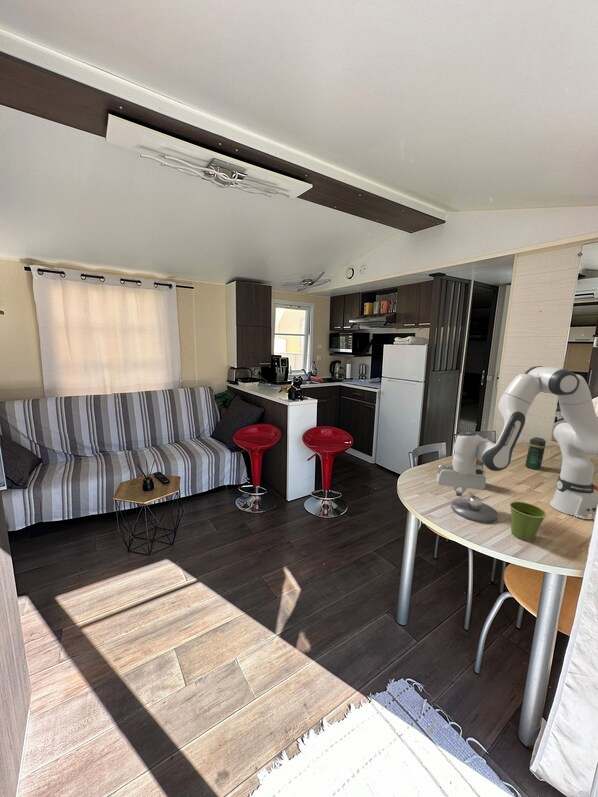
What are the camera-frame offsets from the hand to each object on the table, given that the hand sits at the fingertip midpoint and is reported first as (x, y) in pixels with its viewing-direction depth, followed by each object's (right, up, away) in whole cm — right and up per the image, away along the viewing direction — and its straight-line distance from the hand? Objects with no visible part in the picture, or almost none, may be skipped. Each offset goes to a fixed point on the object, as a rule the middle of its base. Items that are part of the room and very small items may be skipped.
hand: (458, 495), depth 150 cm
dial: (+4, -3, -4) cm, 7 cm away
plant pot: (+14, -9, -22) cm, 28 cm away
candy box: (+19, -1, +24) cm, 31 cm away
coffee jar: (+72, +2, +53) cm, 89 cm away
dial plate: (+4, -5, -6) cm, 9 cm away
